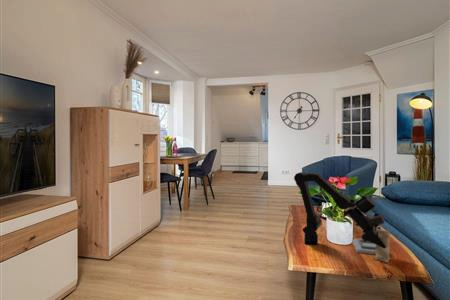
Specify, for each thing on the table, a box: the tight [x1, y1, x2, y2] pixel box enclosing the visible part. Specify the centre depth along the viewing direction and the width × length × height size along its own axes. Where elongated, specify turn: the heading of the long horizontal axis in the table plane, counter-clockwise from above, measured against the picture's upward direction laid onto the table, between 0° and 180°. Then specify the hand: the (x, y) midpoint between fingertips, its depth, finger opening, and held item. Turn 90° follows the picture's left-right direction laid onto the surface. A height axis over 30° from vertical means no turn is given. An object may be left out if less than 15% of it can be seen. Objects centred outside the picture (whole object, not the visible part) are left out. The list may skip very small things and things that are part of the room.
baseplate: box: [351, 238, 376, 255], centre depth 129 cm, size 14×14×2 cm
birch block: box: [375, 229, 390, 263], centre depth 117 cm, size 5×5×13 cm
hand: (386, 245), depth 116 cm, fingers closed on birch block, 5 cm apart
